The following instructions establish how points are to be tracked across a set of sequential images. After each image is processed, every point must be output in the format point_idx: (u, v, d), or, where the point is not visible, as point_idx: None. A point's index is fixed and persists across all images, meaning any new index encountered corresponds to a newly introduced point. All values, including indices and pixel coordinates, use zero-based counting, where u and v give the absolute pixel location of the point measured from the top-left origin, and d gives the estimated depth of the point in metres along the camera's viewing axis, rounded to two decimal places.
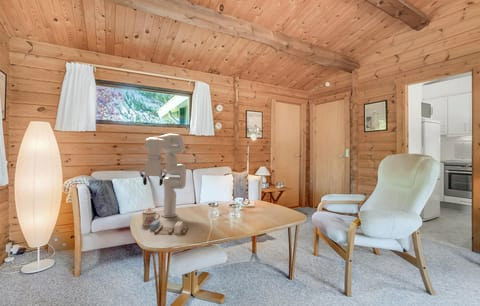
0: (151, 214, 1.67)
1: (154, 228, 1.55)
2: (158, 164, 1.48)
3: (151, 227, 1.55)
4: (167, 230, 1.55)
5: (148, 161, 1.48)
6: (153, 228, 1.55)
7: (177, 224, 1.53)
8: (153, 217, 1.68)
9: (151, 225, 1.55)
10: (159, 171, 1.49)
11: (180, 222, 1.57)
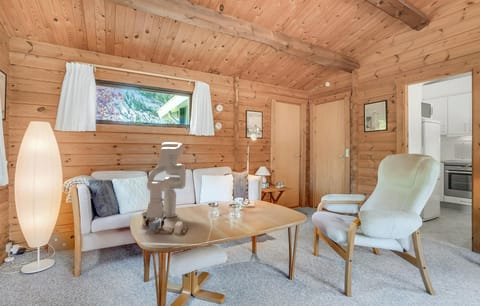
0: None
1: (154, 228, 1.55)
2: (160, 207, 1.57)
3: (151, 227, 1.55)
4: (167, 230, 1.55)
5: (150, 204, 1.57)
6: (153, 228, 1.55)
7: (177, 224, 1.53)
8: None
9: (151, 225, 1.55)
10: (161, 213, 1.57)
11: (180, 222, 1.57)
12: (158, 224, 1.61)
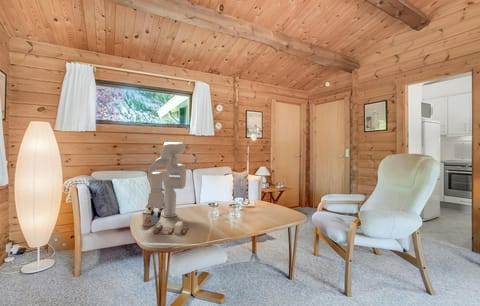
0: None
1: (155, 219, 1.56)
2: (160, 197, 1.58)
3: (152, 219, 1.56)
4: (167, 230, 1.55)
5: (151, 194, 1.57)
6: (154, 219, 1.56)
7: (177, 224, 1.53)
8: None
9: (152, 217, 1.56)
10: (161, 203, 1.58)
11: (180, 222, 1.57)
12: None
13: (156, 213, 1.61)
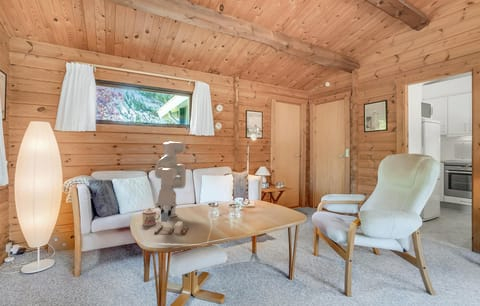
0: (151, 214, 1.67)
1: (165, 218, 1.50)
2: (171, 194, 1.53)
3: (162, 217, 1.50)
4: (167, 230, 1.55)
5: (161, 191, 1.52)
6: (164, 218, 1.50)
7: (177, 224, 1.53)
8: (153, 217, 1.68)
9: (162, 214, 1.50)
10: (172, 201, 1.53)
11: (180, 222, 1.57)
12: None
13: (166, 211, 1.55)
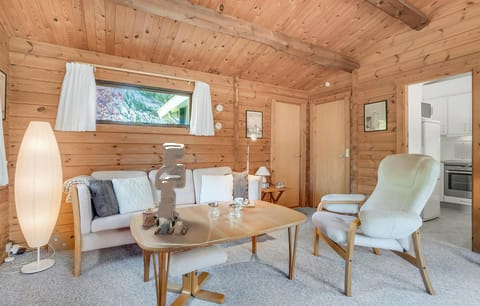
0: (151, 214, 1.67)
1: (165, 229, 1.50)
2: (171, 206, 1.53)
3: (162, 228, 1.50)
4: None
5: (161, 204, 1.52)
6: (164, 229, 1.50)
7: (177, 224, 1.53)
8: (153, 217, 1.68)
9: (162, 226, 1.50)
10: (172, 213, 1.53)
11: (180, 222, 1.57)
12: (168, 225, 1.56)
13: (166, 222, 1.55)
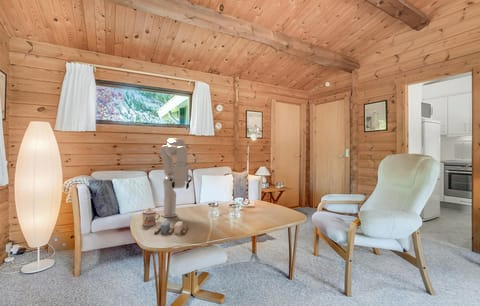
0: (151, 214, 1.67)
1: (165, 229, 1.50)
2: (185, 170, 1.66)
3: (162, 228, 1.50)
4: None
5: (176, 167, 1.65)
6: (164, 229, 1.50)
7: (177, 224, 1.53)
8: (153, 217, 1.68)
9: (162, 226, 1.50)
10: (186, 176, 1.66)
11: (180, 222, 1.57)
12: (168, 225, 1.56)
13: (166, 222, 1.55)
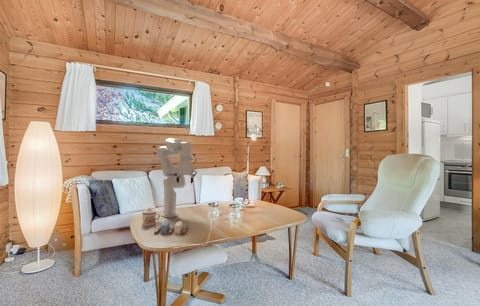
0: (151, 214, 1.67)
1: (165, 229, 1.50)
2: (190, 164, 1.70)
3: (162, 228, 1.50)
4: None
5: (181, 162, 1.70)
6: (164, 229, 1.50)
7: (177, 224, 1.53)
8: (153, 217, 1.68)
9: (162, 226, 1.50)
10: (190, 170, 1.70)
11: (180, 222, 1.57)
12: (168, 225, 1.56)
13: (166, 222, 1.55)
